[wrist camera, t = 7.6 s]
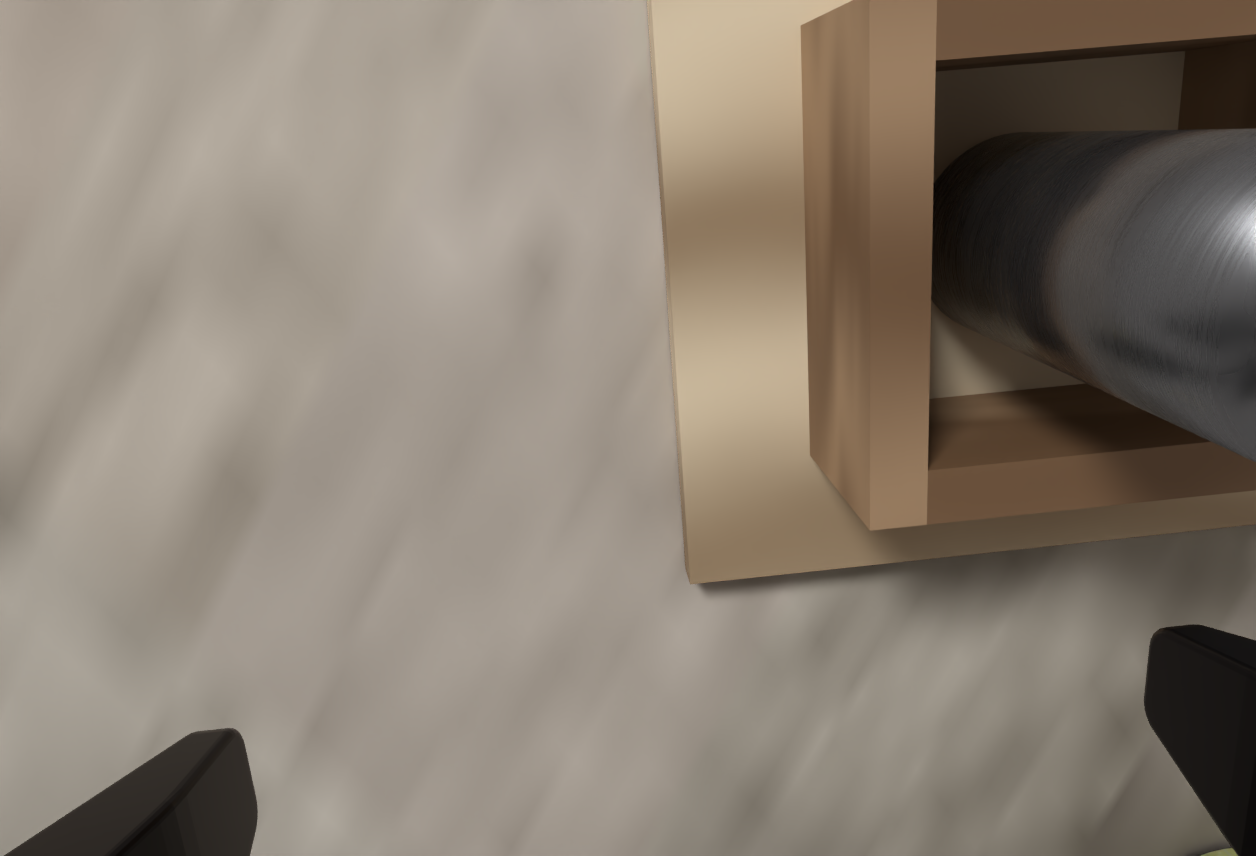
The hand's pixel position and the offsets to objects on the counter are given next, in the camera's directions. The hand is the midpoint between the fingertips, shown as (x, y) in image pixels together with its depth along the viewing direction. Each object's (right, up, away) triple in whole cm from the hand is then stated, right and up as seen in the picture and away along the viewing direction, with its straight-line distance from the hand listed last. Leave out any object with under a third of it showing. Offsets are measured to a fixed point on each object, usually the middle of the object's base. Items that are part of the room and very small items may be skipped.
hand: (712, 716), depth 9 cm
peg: (+7, +7, +10) cm, 14 cm away
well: (+7, +7, +10) cm, 14 cm away
